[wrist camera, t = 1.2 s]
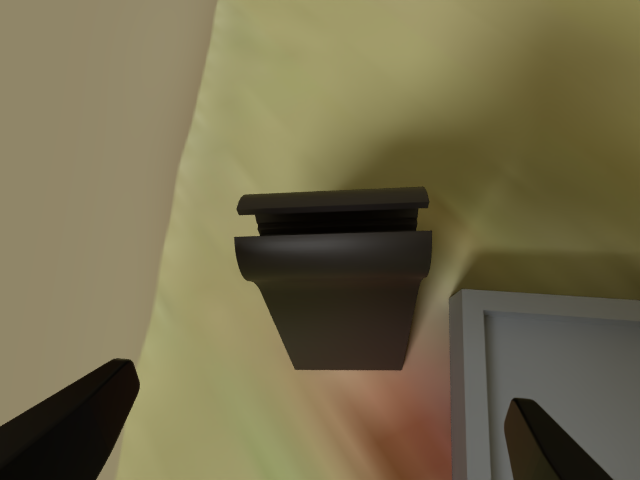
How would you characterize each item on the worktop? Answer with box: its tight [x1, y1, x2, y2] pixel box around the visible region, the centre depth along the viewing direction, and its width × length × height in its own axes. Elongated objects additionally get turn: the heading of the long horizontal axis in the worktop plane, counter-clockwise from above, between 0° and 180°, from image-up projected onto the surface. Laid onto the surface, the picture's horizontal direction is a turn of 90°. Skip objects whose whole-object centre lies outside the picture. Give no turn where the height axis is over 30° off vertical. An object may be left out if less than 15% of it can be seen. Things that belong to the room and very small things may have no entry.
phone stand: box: [234, 187, 432, 370], centre depth 17 cm, size 9×6×12 cm, turn 0°
